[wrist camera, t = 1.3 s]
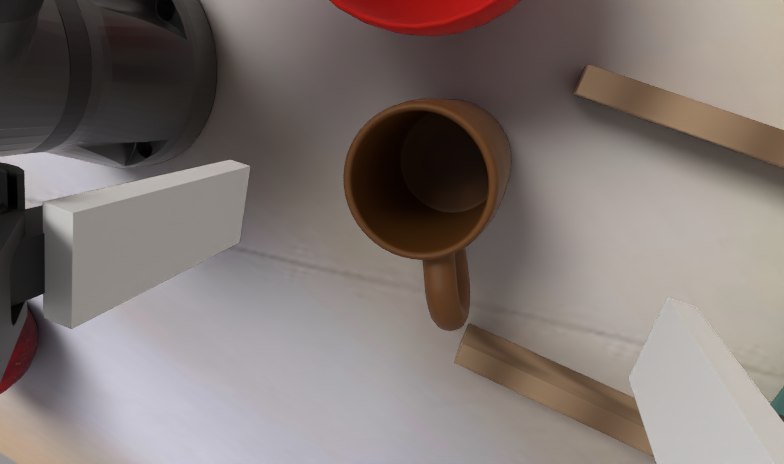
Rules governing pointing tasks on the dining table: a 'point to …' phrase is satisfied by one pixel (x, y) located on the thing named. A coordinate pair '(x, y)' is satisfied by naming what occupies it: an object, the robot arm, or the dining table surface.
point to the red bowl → (425, 14)
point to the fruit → (21, 353)
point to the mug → (429, 190)
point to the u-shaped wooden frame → (563, 384)
